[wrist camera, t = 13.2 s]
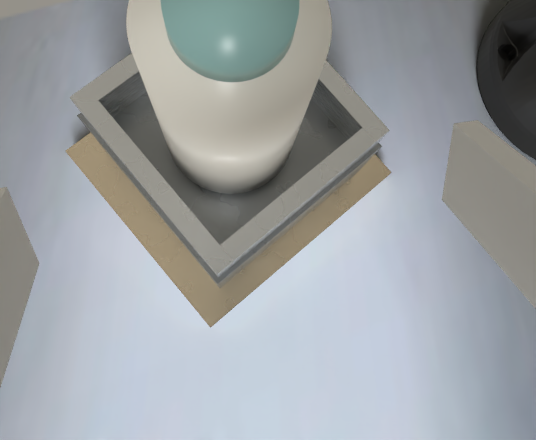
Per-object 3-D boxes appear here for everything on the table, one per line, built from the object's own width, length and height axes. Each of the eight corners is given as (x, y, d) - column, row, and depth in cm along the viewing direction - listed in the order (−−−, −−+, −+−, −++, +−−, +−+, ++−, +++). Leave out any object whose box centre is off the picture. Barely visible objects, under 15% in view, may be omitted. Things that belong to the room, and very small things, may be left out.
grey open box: (382, 179, 37) (442, 129, 26) (211, 326, 34) (203, 334, 24) (249, 30, 38) (257, -75, 28) (74, 159, 35) (9, 97, 25)
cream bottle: (318, 141, 28) (383, 18, 16) (222, 219, 27) (216, 149, 15) (238, 50, 29) (243, -133, 17) (140, 123, 28) (72, -18, 16)
